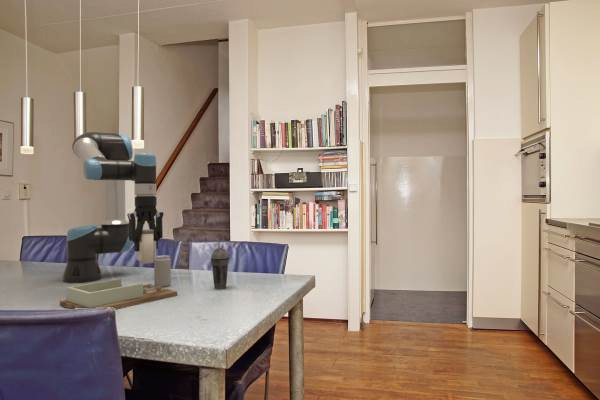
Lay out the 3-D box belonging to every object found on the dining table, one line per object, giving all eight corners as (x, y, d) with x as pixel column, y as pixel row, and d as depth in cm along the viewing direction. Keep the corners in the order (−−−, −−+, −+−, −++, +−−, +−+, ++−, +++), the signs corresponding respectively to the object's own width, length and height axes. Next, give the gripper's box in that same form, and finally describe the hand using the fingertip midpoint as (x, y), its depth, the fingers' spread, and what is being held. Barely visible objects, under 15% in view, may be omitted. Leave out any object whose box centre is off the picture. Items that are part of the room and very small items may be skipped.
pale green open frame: (66, 300, 142) (66, 287, 142) (119, 290, 156) (119, 278, 156) (89, 307, 132) (88, 293, 132) (143, 296, 147) (142, 283, 147)
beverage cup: (233, 286, 170) (232, 236, 170) (223, 290, 163) (223, 238, 163) (216, 285, 172) (216, 235, 172) (207, 289, 166) (206, 237, 165)
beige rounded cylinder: (136, 262, 156) (135, 229, 156) (148, 261, 160) (148, 229, 160) (144, 264, 153) (143, 230, 153) (156, 262, 157) (156, 229, 157)
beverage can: (166, 287, 169) (165, 257, 169) (151, 287, 170) (150, 257, 170) (173, 284, 175) (173, 255, 175) (159, 283, 176) (159, 254, 176)
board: (59, 305, 142) (59, 296, 142) (145, 288, 168) (145, 280, 168) (89, 315, 130) (89, 305, 130) (177, 295, 155) (177, 287, 155)
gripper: (128, 195, 147) (129, 263, 147) (172, 195, 161) (173, 257, 161) (116, 195, 152) (117, 261, 152) (160, 195, 166) (161, 255, 166)
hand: (146, 259), depth 156 cm, fingers closed on beige rounded cylinder, 5 cm apart
